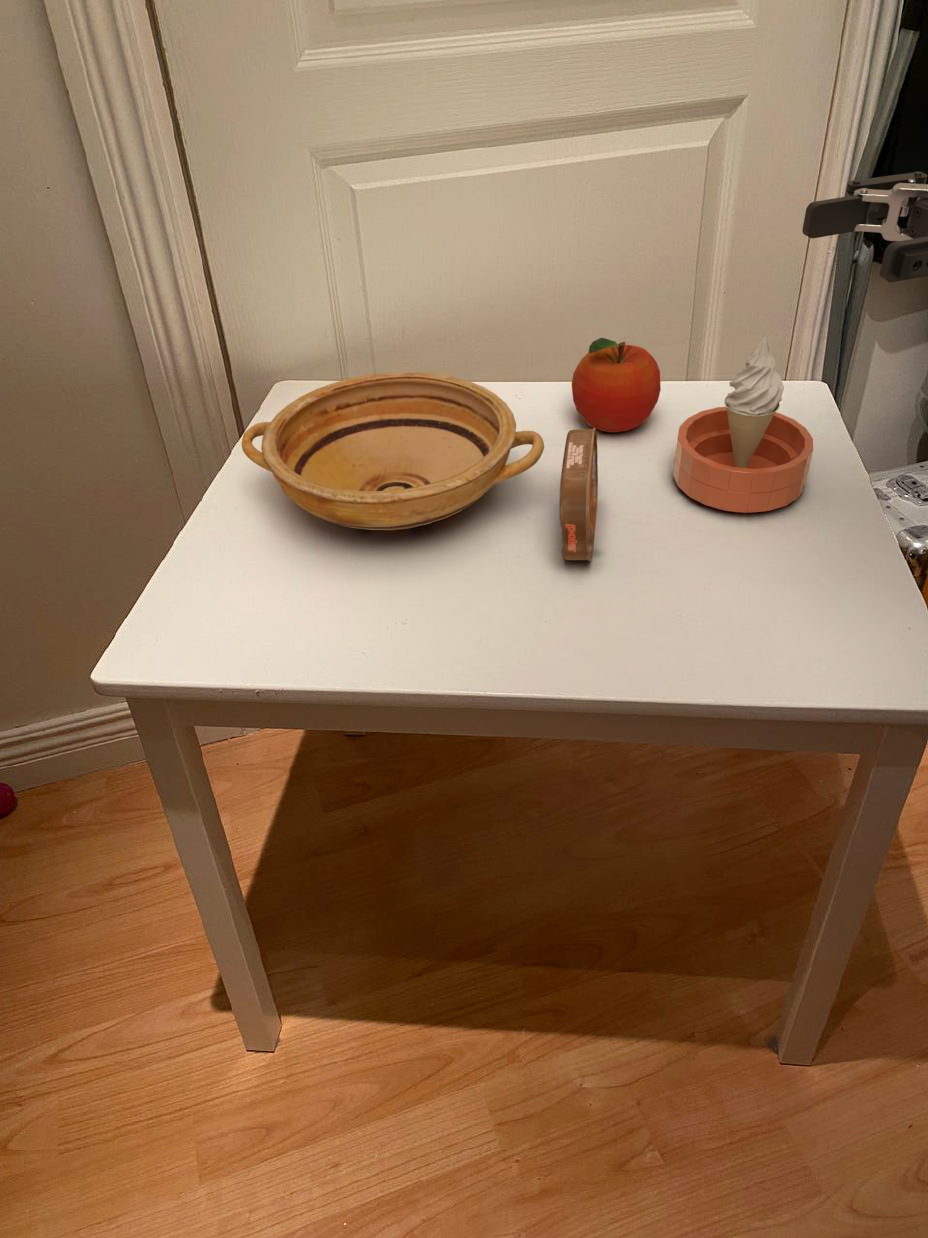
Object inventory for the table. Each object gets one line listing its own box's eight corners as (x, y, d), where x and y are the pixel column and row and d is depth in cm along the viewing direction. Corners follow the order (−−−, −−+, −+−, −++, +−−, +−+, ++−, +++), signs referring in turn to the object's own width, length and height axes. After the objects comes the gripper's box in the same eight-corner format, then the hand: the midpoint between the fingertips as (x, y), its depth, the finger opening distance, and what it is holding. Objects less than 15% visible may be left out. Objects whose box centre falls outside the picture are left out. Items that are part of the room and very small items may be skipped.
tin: (590, 580, 83) (594, 500, 77) (554, 578, 83) (556, 498, 78) (599, 487, 94) (603, 411, 88) (567, 485, 94) (569, 410, 89)
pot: (820, 468, 95) (830, 424, 91) (778, 531, 87) (788, 486, 84) (701, 438, 100) (707, 395, 97) (652, 495, 92) (657, 451, 89)
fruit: (674, 431, 101) (684, 344, 95) (596, 452, 99) (601, 364, 92) (630, 394, 108) (636, 310, 102) (555, 413, 106) (557, 328, 99)
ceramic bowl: (215, 563, 87) (195, 490, 82) (290, 432, 105) (277, 366, 100) (531, 581, 83) (531, 506, 78) (553, 442, 101) (554, 373, 96)
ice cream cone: (771, 489, 91) (799, 343, 81) (718, 490, 91) (740, 345, 82) (759, 462, 95) (786, 319, 85) (709, 463, 95) (729, 321, 85)
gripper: (997, 120, 66) (793, 150, 63) (1169, 174, 55) (934, 213, 52) (965, 230, 71) (774, 262, 68) (1117, 298, 60) (900, 341, 57)
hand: (844, 241), depth 60 cm, fingers open, 8 cm apart
